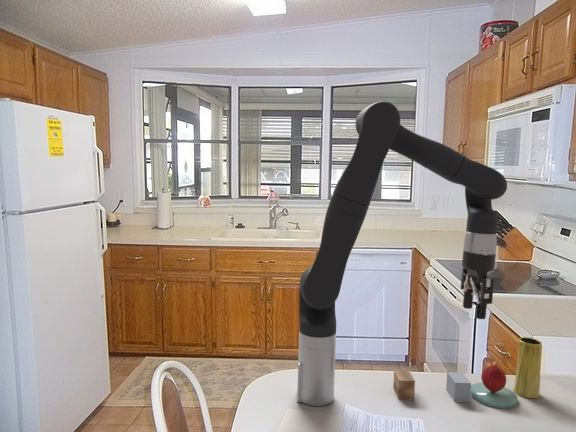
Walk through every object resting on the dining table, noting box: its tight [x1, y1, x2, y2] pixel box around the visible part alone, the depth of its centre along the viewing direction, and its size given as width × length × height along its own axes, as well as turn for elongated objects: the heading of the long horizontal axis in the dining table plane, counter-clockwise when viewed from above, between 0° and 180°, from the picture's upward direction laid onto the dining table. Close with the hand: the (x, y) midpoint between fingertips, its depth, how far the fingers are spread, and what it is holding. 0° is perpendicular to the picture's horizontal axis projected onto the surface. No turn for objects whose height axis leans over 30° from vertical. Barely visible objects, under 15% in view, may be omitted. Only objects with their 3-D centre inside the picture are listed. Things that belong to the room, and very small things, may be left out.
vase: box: [513, 336, 543, 399], centre depth 115 cm, size 6×6×14 cm
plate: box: [470, 382, 518, 409], centre depth 113 cm, size 11×11×1 cm
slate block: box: [445, 371, 472, 403], centre depth 113 cm, size 4×6×5 cm, turn 178°
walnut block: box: [392, 369, 416, 401], centre depth 113 cm, size 4×6×5 cm, turn 178°
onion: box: [480, 361, 507, 393], centre depth 112 cm, size 6×6×8 cm
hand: (473, 313), depth 111 cm, fingers open, 8 cm apart
